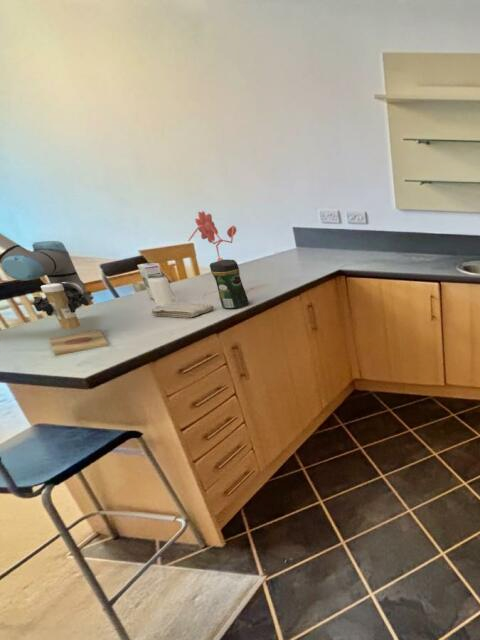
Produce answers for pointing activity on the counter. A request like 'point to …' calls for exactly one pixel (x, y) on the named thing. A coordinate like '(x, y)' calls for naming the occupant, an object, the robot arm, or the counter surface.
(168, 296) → the can
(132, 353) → the counter surface
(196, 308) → the washcloth
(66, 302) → the sprinkles bottle
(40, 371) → the counter surface
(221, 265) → the coffee jar
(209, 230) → the red flower
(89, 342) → the mat
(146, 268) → the syrup box
